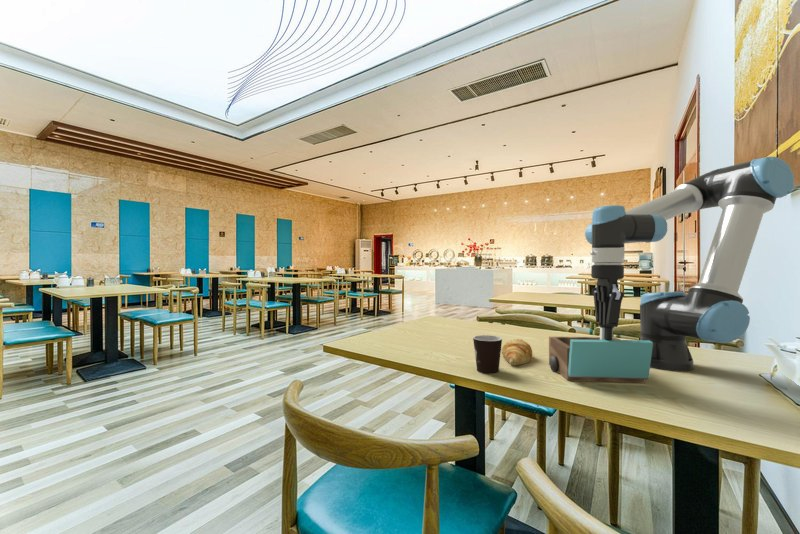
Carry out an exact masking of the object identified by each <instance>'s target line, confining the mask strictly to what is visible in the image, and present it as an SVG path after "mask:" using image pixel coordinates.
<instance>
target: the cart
mask: <svg viewBox="0 0 800 534" xmlns="http://www.w3.org/2000/svg"><path fill="white" fill-rule="evenodd" d="M570 339H582V340H600V336H548V365H549V367H550V370H551V371H552V372H557V373H558V374H559V375H560V376H562V377H563V378H564V379H565V380H566V381H569V382H572V381H573V382H601V383H603V382H605V383H606V382H609V383H640V384H641V383H645V382H646V381H645V380H646V379H632V378H591V377H569V376H568V366H569V352H570ZM613 340H621V339H620V338H617V337H613Z"/></svg>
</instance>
